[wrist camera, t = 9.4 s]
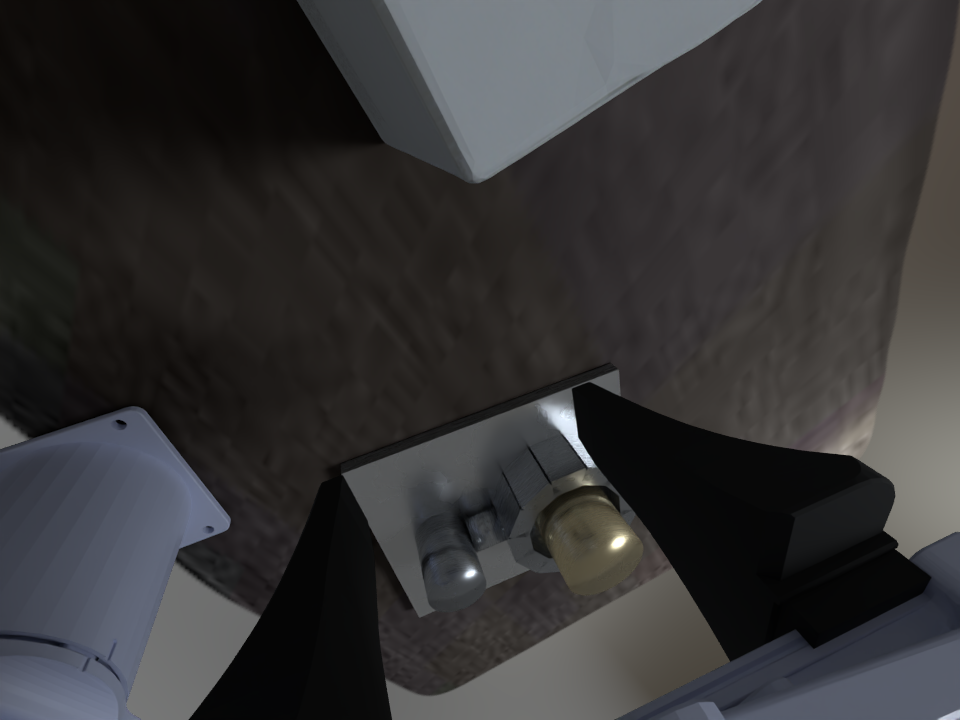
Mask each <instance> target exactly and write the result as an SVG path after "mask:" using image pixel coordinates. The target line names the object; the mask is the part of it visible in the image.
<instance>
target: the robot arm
mask: <svg viewBox="0 0 960 720" xmlns="http://www.w3.org/2000/svg"><path fill="white" fill-rule="evenodd" d="M572 395H573V403H574V410H575V417H576V425H577V432H578V438H579V440H580V441H581V443H582V445H583V446H584V448H585V449H586V451H587V453H588V454H589V456H590V457H591V459H592V460H593V462H594V464H595V465H596V466H597V467H598V469H599V470H600V471H601V472H602V474H603V475H604V476H605V477H606V478H607V480H608V481H609V482H610V483H611V485H612V486H613V487H614V488H615V489H616V491H617V492H618V493H619V494H620V495H621V497H622V498H623V499H624V500H625V501H626V503H627V504H628V505H629V506H630V507H631V509H632V510H633V511H634V512H635V514H636V515H637V516H638V517H639V518H640V520H641V521H642V522H643V524H644V525H645V526H646V528H647V529H648V530H649V532H650V533H651V535H652V536H653V538H654V539H655V541H656V542H657V544H658V545H659V547H660V548H661V550H662V551H663V553H664V554H665V555H666V557H667V558H668V560H669V562H670V563H671V565H672V566H673V568H674V569H675V571H676V572H677V574H678V575H679V577H680V579H681V580H682V582H683V583H684V585H685V586H686V588H687V590H688V591H689V593H690V595H691V596H692V598H693V599H694V601H695V603H696V604H697V606H698V608H699V609H700V611H701V613H702V614H703V616H704V617H705V619H706V621H707V622H708V624H709V626H710V627H711V629H712V631H713V633H714V634H715V636H716V638H717V639H718V641H719V642H720V645H721V646H722V648H723V650H724V651H725V653H726V655H727V657H728V658H729V660H730V662H729V663H727V664H725V665H723V666H721V667H719V668H717V669H715V670H713V671H711V672H710V673H707V674H705V675H703V676H701V677H699V678H697V679H695V680H693V681H691V682H689V683H687V684H685V685H683V686H681V687H679V688H677V689H675V690H673V691H671V692H669V693H667V694H665V695H663V696H661V697H659V698H657V699H655V700H653V701H651V702H649V703H647V704H645V705H643V706H641V707H639V708H637V709H635V710H633V711H631V712H629V713H627V714H625V715H623V716H622V717H619V718H617V719H615V720H960V532H955V533H953V534H951V535H949V536H946V537H944V538H943V539H941V540H938V541H936V542H934V543H932V544H930V545H928V546H926V547H924V548H922V549H921V550H919V551H918V552H916V553H915V554H914V555H913V556H912V557H911V558H910V559H909V560H908V559H907V558H906V557H904V556H903V555H902V554H901V553H899V552H898V551H897V550H895V548H897V547H898V543H897V541H896V540H895V539H894V538H893V537H891V536H890V535H889V534H887V533H886V532H884V531H883V528H884V526H885V523H886V521H887V518H888V516H889V513H890V511H891V509H892V506H893V503H894V499H895V491H894V485H893V484H892V482H891V481H890V480H889V479H887V478H886V477H884V476H882V475H881V474H879V473H877V472H876V471H875V470H873V469H872V468H870V467H868V466H867V465H865V464H864V463H862V462H861V461H859V460H858V459H856V458H854V457H853V456H849V455H839V454H830V453H820V452H810V451H802V450H795V449H789V448H783V447H776V446H771V445H766V444H760V443H755V442H751V441H746V440H742V439H738V438H733V437H729V436H725V435H722V434H718V433H714V432H711V431H708V430H704V429H701V428H698V427H694V426H691V425H688V424H685V423H683V422H680V421H677V420H675V419H672V418H669V417H667V416H664V415H661V414H659V413H657V412H654V411H652V410H649V409H647V408H645V407H642V406H640V405H638V404H636V403H633V402H631V401H629V400H627V399H625V398H623V397H621V396H619V395H616V394H614V393H612V392H610V391H608V390H606V389H604V388H602V387H600V386H598V385H596V384H593V383H591V382H587V383H585V384H582V385H579V386H577V387H574V388H572ZM116 420H122V421H124V422H125V423H126V425H121V424H118V423H117V422H116ZM230 521H231V519H230V517H229V516H228V514H227V513H226V512H225V511H224V509H223V508H222V507H221V505H220V504H219V503H218V502H217V500H216V499H215V498H214V497H213V495H212V494H211V493H210V492H209V490H208V489H207V488H206V487H205V485H204V484H203V483H202V481H201V480H200V479H199V478H198V476H197V475H196V474H195V473H194V471H193V470H192V469H191V468H190V466H189V465H188V464H187V462H186V461H185V460H184V459H183V457H182V456H181V455H180V454H179V452H178V451H177V450H176V449H175V447H174V446H173V445H172V443H171V442H170V441H169V440H168V438H167V437H166V436H165V435H164V433H163V432H162V431H161V430H160V428H159V427H158V426H157V424H156V423H155V422H154V421H153V419H152V418H151V417H150V416H149V414H148V413H147V412H146V411H145V410H144V409H142V408H140V407H135V406H131V407H126V408H123V409H120V410H117V411H114V412H111V413H108V414H105V415H102V416H99V417H96V418H93V419H90V420H87V421H84V422H81V423H78V424H75V425H72V426H69V427H66V428H63V429H60V430H57V431H54V432H51V433H48V434H45V435H42V436H39V437H36V438H33V439H30V440H27V441H24V442H21V443H18V444H15V445H12V446H9V447H6V448H3V449H0V720H141V719H140V718H139V717H137V716H135V715H133V714H132V713H131V712H129V710H128V709H127V707H126V703H127V700H128V697H129V694H130V691H131V688H132V685H133V682H134V679H135V676H136V674H137V671H138V668H139V665H140V662H141V659H142V656H143V653H144V650H145V647H146V644H147V641H148V638H149V635H150V632H151V629H152V627H153V624H154V621H155V618H156V614H157V612H158V609H159V606H160V603H161V600H162V597H163V594H164V591H165V588H166V585H167V582H168V579H169V577H170V573H171V571H172V568H173V565H174V562H175V559H176V556H177V553H178V550H179V548H182V547H185V546H187V545H190V544H192V543H195V542H198V541H200V540H203V539H205V538H208V537H211V536H213V535H216V534H219V533H221V532H224V531H226V530H227V529H228V528H229V526H230ZM206 526H212V527H211V528H208V527H206ZM189 720H392V717H391V711H390V705H389V699H388V693H387V688H386V681H385V675H384V668H383V662H382V656H381V649H380V640H379V629H378V611H377V594H376V576H375V561H374V551H373V545H372V539H371V534H370V529H369V524H368V520H367V518H366V516H365V515H364V513H363V511H362V509H361V507H360V505H359V504H358V502H357V500H356V498H355V496H354V494H353V492H352V491H351V489H350V487H349V485H348V483H347V481H346V480H345V478H344V476H343V475H341V476H338V477H336V478H333V479H330V480H328V481H325V482H323V483H322V484H321V485H320V487H319V490H318V493H317V496H316V498H315V501H314V504H313V507H312V509H311V512H310V514H309V517H308V520H307V522H306V525H305V527H304V530H303V532H302V534H301V537H300V539H299V542H298V544H297V546H296V549H295V551H294V553H293V555H292V558H291V560H290V562H289V564H288V566H287V568H286V570H285V572H284V574H283V576H282V579H281V581H280V583H279V585H278V586H277V588H276V590H275V592H274V594H273V596H272V598H271V600H270V601H269V603H268V605H267V607H266V609H265V610H264V612H263V614H262V616H261V617H260V619H259V621H258V622H257V624H256V626H255V627H254V629H253V631H252V632H251V634H250V635H249V637H248V638H247V640H246V641H245V643H244V644H243V646H242V647H241V649H240V650H239V652H238V653H237V655H236V656H235V658H234V660H233V661H232V663H231V664H230V665H229V667H228V668H227V670H226V671H225V673H224V674H223V675H222V677H221V678H220V679H219V681H218V682H217V684H216V685H215V686H214V688H213V689H212V690H211V691H210V693H209V694H208V695H207V697H206V698H205V699H204V701H203V702H202V703H201V705H200V706H199V707H198V709H197V710H196V711H195V712H194V714H193V715H192V716H191V717H190V719H189Z"/></svg>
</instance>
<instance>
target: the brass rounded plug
mask: <svg viewBox="0 0 960 720" xmlns="http://www.w3.org/2000/svg"><path fill="white" fill-rule="evenodd" d="M534 524H535V526H536V528H537V529H538V531H539V533H540V535H541V537H542V539H543V541H544V542H545V544H546V546H547V548H548V550H549V552H550V554H551V555H552V557H553V559H554V561H555V563H556V565H557V567H558V568H559V570H560V572H561V574H562V576H563V578H564V580H565V581H566V583H567V585H568V587H569V589H570V590H571V591H572V592H573V593H575V594H578V595H594V594H598V593H601V592H604V591H606V590H608V589H610V588H612V587H614V586H616V585H617V584H619V583H620V582H622V581H623V580H624V579H625V578H626V577H628V576H629V575H630V574H631V573H632V572H633V570H634V569H635V568H636V567H637V565H638V563H639V562H640V560H641V558H642V554H643V544H642V542H641V541H640V539H639V538H638V537H637V536H636V534H635V533H634V532H633V530H632V529H631V528H630V526H629V525H628V524H627V522H626V521H625V520H624V518H623V517H622V516H621V515H620V513H619V512H618V511H617V509H616V508H615V507H614V505H613V504H612V503H611V501H610V500H609V499H608V498H607V496H606V495H605V494H604V492H603V491H602V490H601V488H600V487H599V486H598V485H583V486H580V487H578V488H575V489H573V490H571V491H568V492H566V493H563V494H561V495H558V496H557V497H556V498H555V499H554V500H553V501H552V502H551V503H550V504H549V505H547V506H546V507H545V508H544V509H543V510H542V511H541V512H540V513H539V514H538V516H537V518H536V520H535V523H534Z"/></svg>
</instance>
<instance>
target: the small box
mask: <svg viewBox="0 0 960 720" xmlns="http://www.w3.org/2000/svg"><path fill="white" fill-rule="evenodd" d="M761 1H762V0H297V2H298V3H299V5H300V6H301V8H302V10H303V11H304V13H305V15H306V16H307V18H308V19H309V21H310V23H311V24H312V26H313V28H314V29H315V31H316V32H317V34H318V36H319V37H320V39H321V41H322V42H323V44H324V46H325V47H326V49H327V50H328V52H329V54H330V55H331V57H332V59H333V60H334V62H335V63H336V65H337V67H338V68H339V70H340V72H341V73H342V75H343V77H344V78H345V80H346V81H347V83H348V85H349V86H350V88H351V90H352V91H353V93H354V94H355V96H356V98H357V99H358V101H359V103H360V104H361V106H362V108H363V109H364V111H365V112H366V114H367V116H368V117H369V119H370V121H371V122H372V124H373V126H374V127H375V129H376V130H377V132H378V134H379V135H380V137H381V139H382V140H383V141H384V142H385V143H386V144H388V145H390V146H392V147H394V148H396V149H399V150H401V151H403V152H405V153H408V154H410V155H412V156H414V157H416V158H418V159H420V160H423V161H425V162H427V163H430V164H432V165H434V166H436V167H439V168H441V169H443V170H445V171H447V172H449V173H452V174H454V175H455V176H457V177H459V178H461V179H463V180H464V181H466V182H468V183H480V182H482V181H484V180H486V179H489V178H490V177H492V176H493V175H495V174H496V173H498V172H500V171H501V170H503V169H504V168H506V167H508V166H509V165H511V164H512V163H514V162H516V161H517V160H519V159H520V158H522V157H524V156H525V155H527V154H528V153H530V152H531V151H533V150H534V149H536V148H537V147H539V146H541V145H542V144H544V143H545V142H547V141H548V140H550V139H551V138H553V137H554V136H556V135H558V134H559V133H561V132H562V131H564V130H565V129H567V128H568V127H570V126H572V125H573V124H575V123H576V122H578V121H579V120H581V119H582V118H584V117H585V116H586V115H588V114H589V113H591V112H592V111H594V110H595V109H597V108H599V107H600V106H602V105H603V104H605V103H606V102H608V101H610V100H611V99H613V98H614V97H616V96H617V95H619V94H620V93H622V92H623V91H625V90H626V89H628V88H629V87H631V86H632V85H634V84H635V83H637V82H639V81H640V80H642V79H643V78H645V77H646V76H648V75H650V74H651V73H653V72H654V71H656V70H657V69H659V68H661V67H662V66H664V65H665V64H667V63H669V62H671V61H672V60H674V59H676V58H677V57H679V56H681V55H682V54H684V53H686V52H688V51H689V50H691V49H693V48H694V47H696V46H698V45H699V44H701V43H702V42H704V41H705V40H707V39H708V38H710V37H711V36H713V35H714V34H716V33H717V32H718V31H720V30H721V29H723V28H724V27H726V26H727V25H728V24H730V23H731V22H732V21H734V20H735V19H736V18H738V17H740V16H741V15H743V14H745V13H746V12H748V11H749V10H750V9H752V8H753V7H754V6H756V5H757V4H758V3H760V2H761Z"/></svg>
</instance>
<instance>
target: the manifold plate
mask: <svg viewBox="0 0 960 720" xmlns="http://www.w3.org/2000/svg"><path fill="white" fill-rule="evenodd" d="M587 382H591V383H593V384H596V385H598V386H600V387H602V388H604V389H606V390H608V391H610V392H612V393H614V394H616V395H619V396H620V381H619V369H618V368H616V367H615V366H614V365H613V364H612V363H609V364H607V365H604V366H601V367H599V368H596V369H593V370H591V371H588V372H585V373H583V374H580V375H577V376H575V377H572V378H569V379H567V380H564V381H561V382H559V383H556V384H553V385H551V386H548V387H545V388H543V389H540V390H537V391H535V392H532V393H529V394H527V395H524V396H521V397H518V398H516V399H513V400H510V401H508V402H505V403H502V404H500V405H497V406H494V407H492V408H489V409H486V410H484V411H481V412H478V413H476V414H473V415H470V416H468V417H465V418H462V419H460V420H457V421H454V422H452V423H449V424H446V425H444V426H441V427H438V428H436V429H433V430H430V431H428V432H425V433H422V434H420V435H417V436H414V437H412V438H409V439H406V440H404V441H401V442H398V443H395V444H393V445H390V446H387V447H385V448H382V449H379V450H377V451H374V452H371V453H369V454H366V455H363V456H361V457H358V458H355V459H353V460H350V461H347V462H345V463H342V464H341V475H343V476H344V478H345V480H346V481H347V483H348V485H349V487H350V489H351V491H352V492H353V494H354V496H355V498H356V500H357V502H358V504H359V505H360V507H361V509H362V511H363V513H364V515H365V516H366V518H367V520H368V524H369V526H370V528H371V530H372V532H373V533H374V535H375V537H376V539H377V541H378V543H379V544H380V546H381V548H382V550H383V552H384V554H385V555H386V557H387V559H388V561H389V563H390V565H391V567H392V568H393V570H394V572H395V574H396V576H397V578H398V579H399V581H400V583H401V585H402V587H403V589H404V590H405V592H406V594H407V596H408V598H409V600H410V601H411V603H412V605H413V607H414V609H415V611H416V612H417V614H418V616H419V618H420V617H422V616H424V615H426V614H429V613H431V612H433V611H440V612H454V611H458V610H461V609H464V608H466V607H468V606H470V605H472V604H473V603H474V602H476V601H477V600H478V599H479V598H480V597H481V596H482V594H483V593H484V591H485V589H486V588H489V587H491V586H493V585H495V584H498V583H500V582H502V581H505V580H507V579H509V578H512V577H514V576H516V575H519V574H521V573H523V572H525V571H528V570H532V571H534V572H536V573H537V572H538V573H547V572H560V570H559V568H558V567H557V565H556V563H555V561H554V559H553V557H552V555H551V554H550V552H549V550H548V548H547V546H546V544H545V542H544V541H543V539H542V537H541V535H540V533H539V531H538V529H537V528H536V526H535V524H534V523H535V520H536V518H537V516H538V514H539V513H540V512H541V511H542V510H543V509H544V508H545V507H546V506H547V505H549V504H550V503H551V502H552V501H553V500H554V499H555V498H556V497H557V496H558V495H561V494H563V493H566V492H568V491H571V490H573V489H575V488H578V487H580V486H583V485H598V486H599V487H600V488H601V490H602V491H603V492H604V494H605V495H606V496H607V498H608V499H609V500H610V501H611V503H612V504H613V505H614V507H615V508H616V509H617V511H618V512H619V513H620V515H621V516H622V517H623V518H624V520H625V521H626V522H627V524H628V525H629V526H630V524H631V522H632V520H633V518H634V517H635V515H636V514H635V512H634V511H633V510H632V509H631V507H630V506H629V505H628V504H627V503H626V501H625V500H624V499H623V498H622V497H621V495H620V494H619V493H618V492H617V491H616V489H615V488H614V487H613V486H612V485H611V483H610V482H609V481H608V480H607V478H606V477H605V476H604V475H603V474H602V472H601V471H600V470H599V469H598V467H597V466H596V465H595V464H594V462H593V460H592V459H591V457H590V456H589V454H588V453H587V451H586V449H585V448H584V446H583V445H582V443H581V441H580V440H579V438H578V432H577V425H576V417H575V410H574V403H573V395H572V388H574V387H577V386H579V385H582V384H585V383H587Z"/></svg>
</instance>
